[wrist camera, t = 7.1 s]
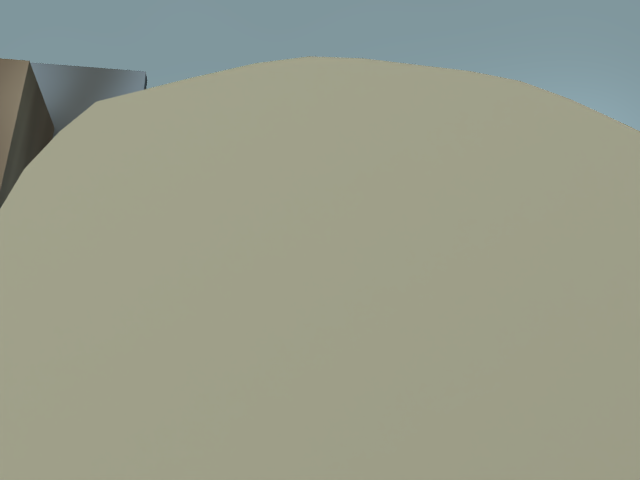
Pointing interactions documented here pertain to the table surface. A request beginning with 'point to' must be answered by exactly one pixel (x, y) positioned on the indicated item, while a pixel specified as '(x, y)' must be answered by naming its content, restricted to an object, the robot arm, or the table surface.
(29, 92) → the collar
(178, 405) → the handle
